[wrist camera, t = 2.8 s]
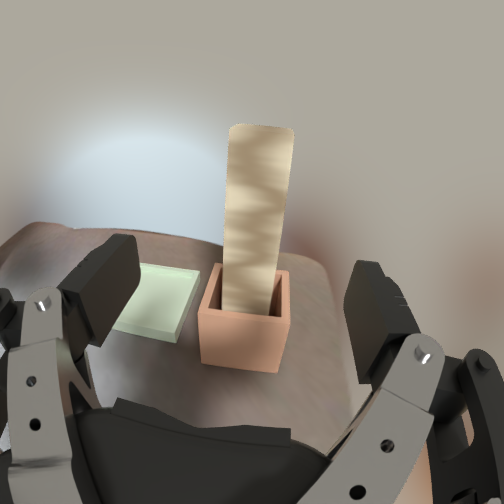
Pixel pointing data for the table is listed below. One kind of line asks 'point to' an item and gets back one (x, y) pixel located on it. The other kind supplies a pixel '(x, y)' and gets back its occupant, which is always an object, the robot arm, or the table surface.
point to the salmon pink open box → (243, 328)
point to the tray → (159, 303)
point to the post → (254, 214)
